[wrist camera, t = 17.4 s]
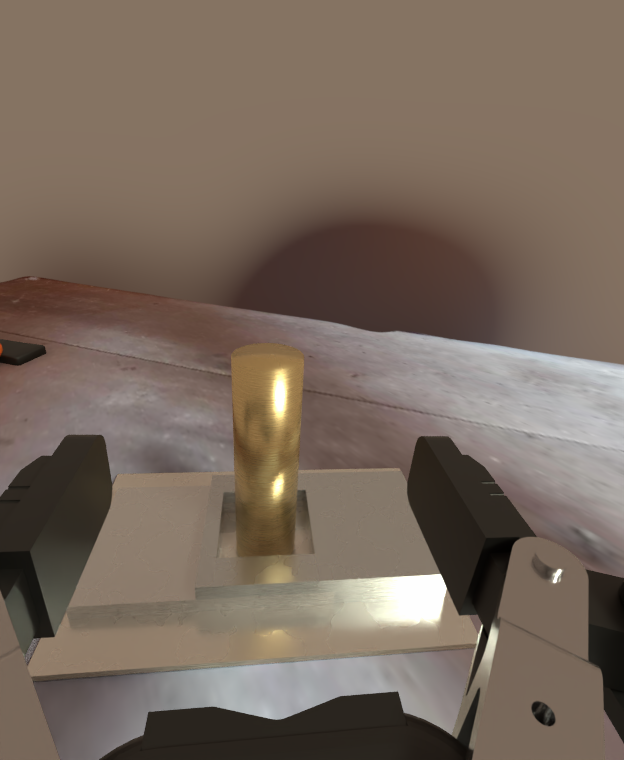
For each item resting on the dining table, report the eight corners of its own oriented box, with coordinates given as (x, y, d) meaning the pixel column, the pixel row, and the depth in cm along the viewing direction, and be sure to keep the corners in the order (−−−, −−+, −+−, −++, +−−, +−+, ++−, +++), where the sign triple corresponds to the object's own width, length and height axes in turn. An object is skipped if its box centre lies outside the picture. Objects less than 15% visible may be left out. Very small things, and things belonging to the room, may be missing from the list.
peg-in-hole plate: (-106, 691, 21) (-125, 660, 20) (43, 479, 35) (37, 455, 34) (574, 640, 25) (587, 612, 24) (459, 470, 39) (465, 448, 38)
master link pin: (224, 553, 29) (216, 360, 23) (255, 515, 32) (255, 338, 26) (277, 575, 27) (283, 376, 21) (304, 533, 31) (315, 351, 25)
